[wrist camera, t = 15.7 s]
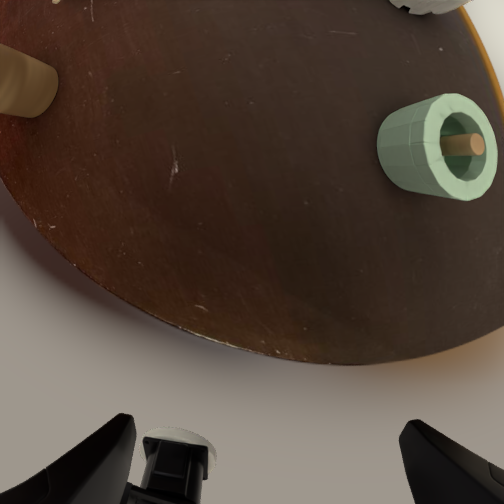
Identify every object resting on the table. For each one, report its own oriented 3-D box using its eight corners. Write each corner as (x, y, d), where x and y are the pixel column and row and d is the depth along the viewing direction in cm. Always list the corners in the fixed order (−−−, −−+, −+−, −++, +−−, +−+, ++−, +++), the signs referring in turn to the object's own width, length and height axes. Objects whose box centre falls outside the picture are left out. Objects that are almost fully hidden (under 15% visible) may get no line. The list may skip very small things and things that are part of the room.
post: (53, 115, 17) (-20, 99, 9) (14, 120, 17) (-55, 113, 9) (63, 61, 16) (0, 28, 8) (24, 70, 15) (-39, 49, 8)
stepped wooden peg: (427, 165, 18) (488, 167, 12) (404, 158, 18) (464, 157, 12) (429, 138, 18) (490, 132, 11) (406, 131, 17) (466, 120, 11)
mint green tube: (439, 198, 19) (492, 209, 13) (372, 183, 19) (418, 188, 13) (445, 122, 18) (498, 114, 12) (379, 99, 17) (425, 78, 12)
